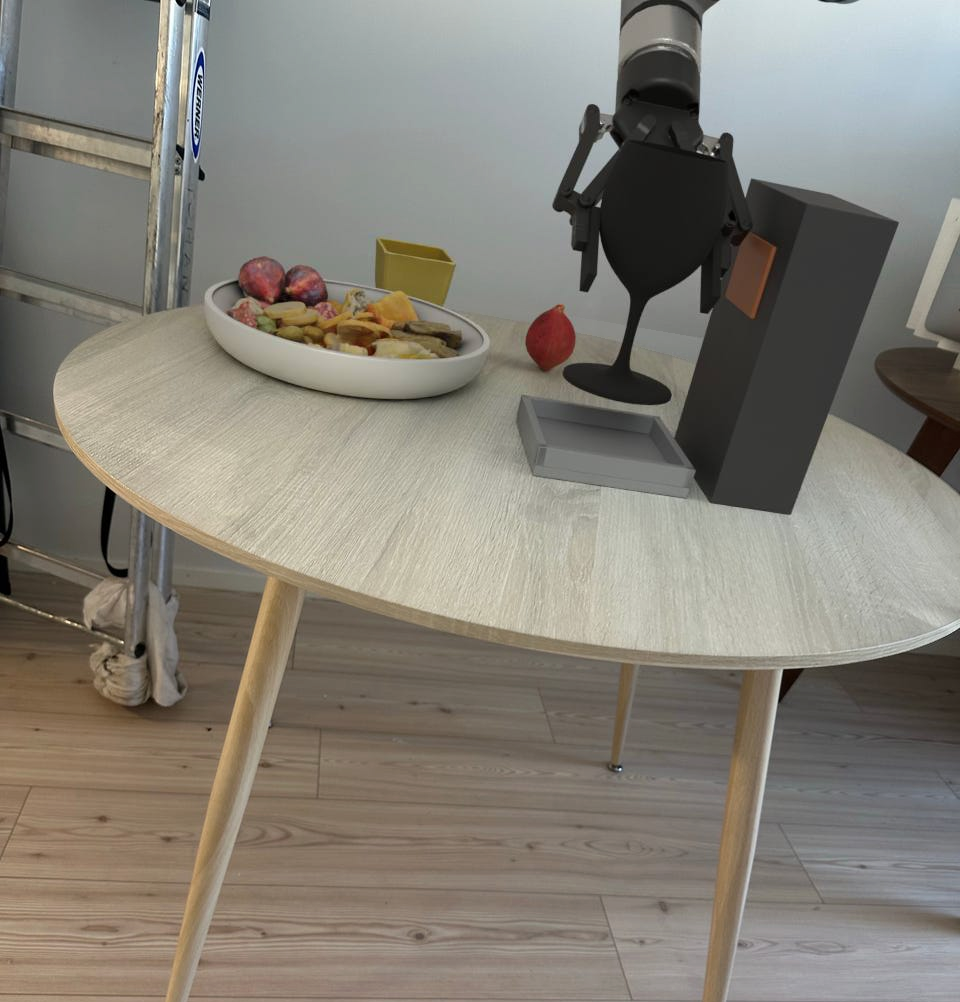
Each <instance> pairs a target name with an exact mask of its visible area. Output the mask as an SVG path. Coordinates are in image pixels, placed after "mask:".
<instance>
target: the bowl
mask: <svg viewBox="0 0 960 1002" xmlns="http://www.w3.org/2000/svg"><path fill="white" fill-rule="evenodd" d="M242 264H243V265H242V266H241V267H240V268H239V273H238V275H237V277H236V278H231V279H227V280H223V281H220V282H217V283H215V284H213V285H211V286H209V288H208V289H207V290H206V291H205V294H204V301H203V302H204V303H203V309H204V311H203V312H204V317H205V321H206V324H207V327H208V329H209V331H210V333H211V335H212V337H213V338H214V340H216V342H217V344H219V346H220V347H221V348H222V349H223V350H224V351H225V352H226V353H228V355H230V356H231V357H233V358H234V359H236V360H237V361H239V362H241V363H242V364H243V365H245V366H247V367H249V368H251V369H253V370H255V371H257V372H260V373H262V374H264V375H266V376H269V377H272V378H274V379H276V380H279V381H283V382H285V383H289V384H293V385H296V386H299V387H303V388H307V389H310V390H314V391H315V390H316V391H320V392H325V393H330V394H336V395H342V396H349V397H357V398H365V399H366V398H368V399H381V400H382V399H383V400H412V399H423V398H429V397H430V398H431V397H436V396H441V395H445V394H447V393H451V392H454V391H455V390H458V389H460V388H462V387H464V386H465V385H467V384H468V383H470V382H472V380H473V379H474V378H475V377H477V375H479V374H480V372H481V370H482V369H483V367H484V366H485V364H486V362H487V359H488V356H489V351H490V347H491V340H490V336H489V335H488V333H487V331H485V330H484V329H483V328H482V327H481V326H480V325H478V324H477V323H475V322H474V321H472V320H471V319H469V318H467V317H465V316H464V315H462V314H459V313H457V312H456V311H453V310H451V309H448V308H446V307H444V306H443V307H441V306H438V305H436V304H433V303H430V302H427V301H424V300H421V299H418V298H414V297H411V296H407V295H406V294H405V293H404V292H402V291H400V290H399V291H395V292H392V291H388V290H384V289H379V288H376V286H375V287H374V286H369V285H364V284H359V283H352V282H348V281H347V282H346V281H341V280H335V279H334V280H333V279H325V278H323V277H322V276H321V274H320V273H319V272H318V270H317V269H315V268H313V267H311V266H310V265H305V264H297V265H295V266H292V267H291V268H290V269H289V270H287V271H285V269H284V267H283V265H282V264H281V263H280V262H278V260H276V259H274V258H271V257H268V256H266V255H265V256H259V257H253V258H252V259H250V260H248V261H246V262H244V263H242Z"/></svg>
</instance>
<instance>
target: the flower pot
mask: <svg viewBox="0 0 960 1002" xmlns="http://www.w3.org/2000/svg"><path fill="white" fill-rule="evenodd" d="M374 259H375V263H374V285H375V288H379V289H384V290H388V291H392V292H395V291H399V290H400V291H402V292H404V293H405V294H406V295H407V296H411V297H414V298H418V299H421V300H424V301H427V302H430V303H433V304H436V305H438V306H441V307H444V305H445V303H446V300H447V297H448V294H449V291H450V286H451V283H452V280H453V276H454V274H455V269H456V266H457V262H456V261H455V260H454V259H453V257H452V256H451V255H450V254H449V253H448V252H447V251H446V249H444V248H442V247H439V246H438V247H437V246H433V245H428V244H422V243H417V242H411V241H410V242H409V241H404V240H399V239H391V238H385V237H376V238H375V258H374Z"/></svg>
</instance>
